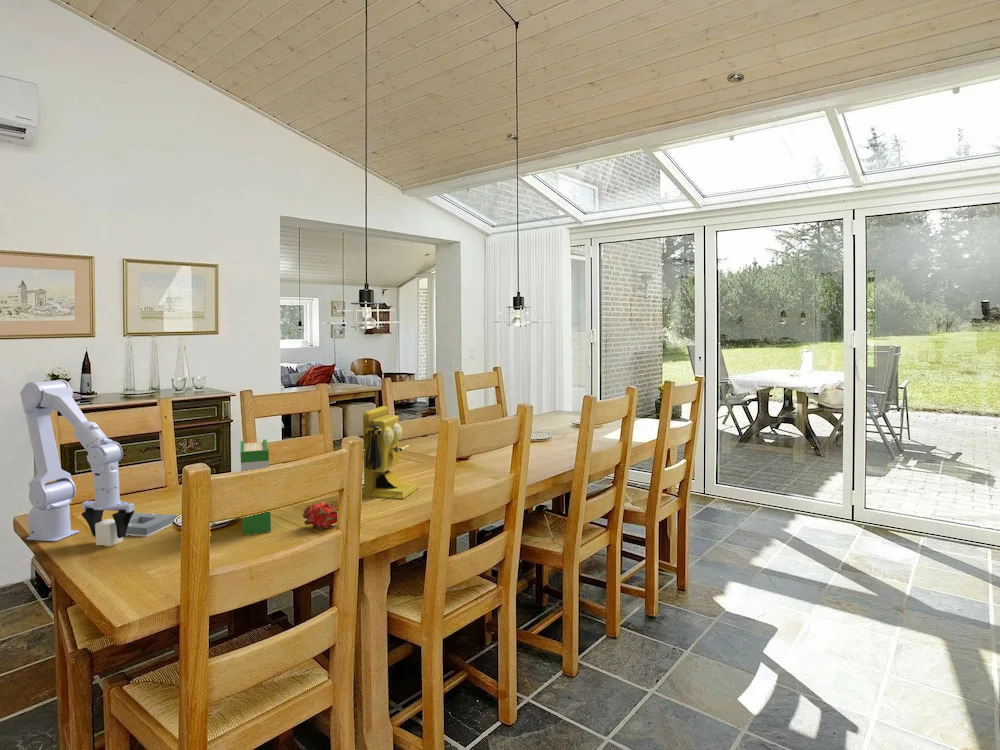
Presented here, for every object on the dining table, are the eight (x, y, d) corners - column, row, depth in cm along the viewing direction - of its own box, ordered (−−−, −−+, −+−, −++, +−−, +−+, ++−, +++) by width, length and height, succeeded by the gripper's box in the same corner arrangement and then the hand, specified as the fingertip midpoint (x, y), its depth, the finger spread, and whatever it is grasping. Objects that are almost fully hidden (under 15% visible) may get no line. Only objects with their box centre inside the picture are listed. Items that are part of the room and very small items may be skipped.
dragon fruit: (299, 533, 180) (341, 535, 183) (300, 524, 173) (344, 526, 176) (303, 505, 184) (344, 508, 187) (304, 495, 177) (346, 498, 181)
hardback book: (243, 517, 190) (240, 441, 188) (268, 514, 192) (266, 439, 190) (243, 535, 173) (240, 452, 171) (270, 532, 176) (268, 450, 174)
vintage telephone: (392, 507, 200) (391, 417, 197) (353, 504, 203) (352, 415, 201) (425, 483, 230) (425, 404, 228) (391, 481, 234) (390, 403, 231)
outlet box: (106, 534, 174) (105, 524, 174) (137, 520, 186) (136, 512, 186) (146, 536, 172) (146, 527, 172) (175, 523, 184) (175, 514, 184)
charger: (96, 545, 165) (95, 523, 165) (108, 539, 170) (107, 518, 169) (110, 546, 165) (109, 524, 164) (123, 540, 169) (122, 519, 168)
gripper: (71, 490, 163) (73, 539, 164) (119, 492, 161) (121, 542, 162) (92, 483, 170) (95, 530, 171) (139, 485, 168) (141, 533, 169)
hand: (109, 536), depth 167 cm, fingers open, 7 cm apart
